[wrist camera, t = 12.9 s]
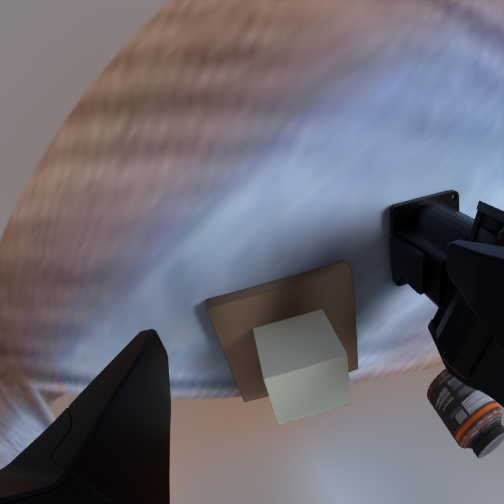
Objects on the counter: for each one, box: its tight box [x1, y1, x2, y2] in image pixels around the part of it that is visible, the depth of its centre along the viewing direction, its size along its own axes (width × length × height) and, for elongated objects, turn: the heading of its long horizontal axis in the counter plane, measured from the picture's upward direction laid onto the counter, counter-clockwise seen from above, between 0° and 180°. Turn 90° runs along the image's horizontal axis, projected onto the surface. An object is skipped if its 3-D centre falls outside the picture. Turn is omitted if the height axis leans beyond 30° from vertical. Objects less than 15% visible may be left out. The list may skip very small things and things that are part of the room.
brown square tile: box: [206, 261, 358, 402], centre depth 23 cm, size 10×10×1 cm
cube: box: [253, 309, 350, 425], centre depth 21 cm, size 5×5×5 cm
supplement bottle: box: [427, 368, 504, 458], centre depth 25 cm, size 6×6×11 cm
